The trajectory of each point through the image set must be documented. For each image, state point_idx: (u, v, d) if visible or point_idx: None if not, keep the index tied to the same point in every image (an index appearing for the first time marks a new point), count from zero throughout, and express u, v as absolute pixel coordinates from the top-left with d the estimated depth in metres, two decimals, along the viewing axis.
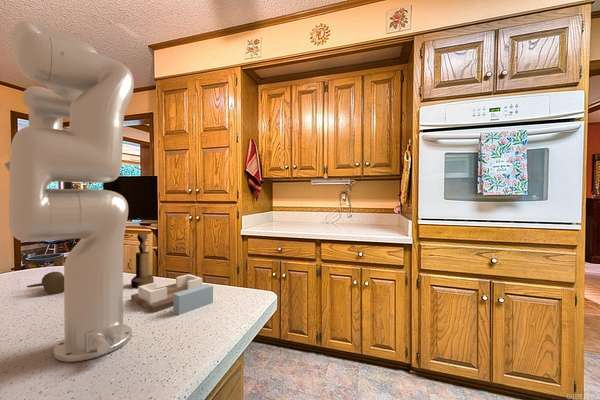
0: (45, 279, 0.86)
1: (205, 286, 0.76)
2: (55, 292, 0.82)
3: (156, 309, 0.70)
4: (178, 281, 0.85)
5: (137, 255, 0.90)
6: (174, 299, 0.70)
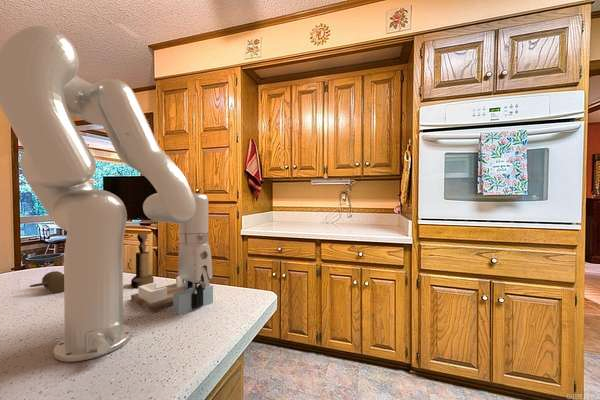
0: (45, 279, 0.87)
1: None
2: (59, 291, 0.83)
3: (156, 309, 0.70)
4: (178, 281, 0.85)
5: (137, 255, 0.90)
6: (173, 298, 0.70)
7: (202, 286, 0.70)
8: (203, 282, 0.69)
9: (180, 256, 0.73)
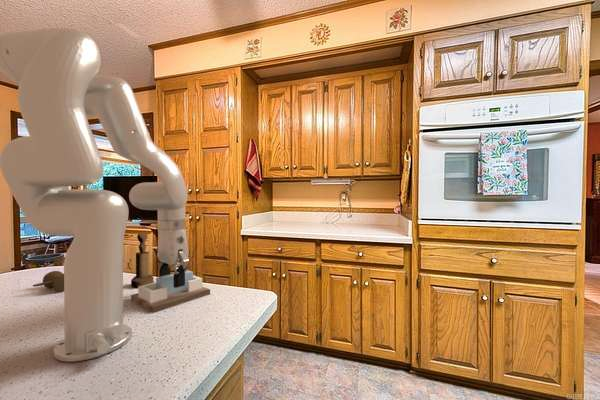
0: (47, 278, 0.87)
1: (186, 272, 0.84)
2: (63, 289, 0.85)
3: (156, 309, 0.70)
4: None
5: (137, 255, 0.90)
6: (156, 282, 0.78)
7: (182, 264, 0.75)
8: (182, 260, 0.76)
9: (159, 241, 0.80)
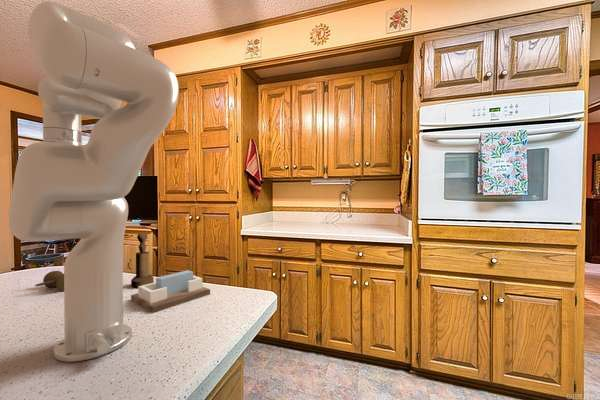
0: (48, 278, 0.87)
1: (186, 272, 0.84)
2: None
3: (156, 309, 0.70)
4: None
5: (137, 255, 0.90)
6: (156, 282, 0.78)
7: None
8: None
9: None
